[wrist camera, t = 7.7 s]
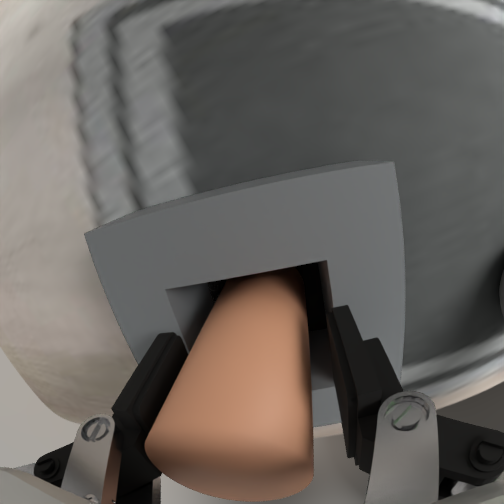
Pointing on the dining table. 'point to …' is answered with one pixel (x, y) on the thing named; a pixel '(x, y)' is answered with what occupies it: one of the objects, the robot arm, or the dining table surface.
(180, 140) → the dining table surface
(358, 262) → the socket block
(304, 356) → the peg
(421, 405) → the robot arm
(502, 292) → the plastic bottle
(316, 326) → the dining table surface
